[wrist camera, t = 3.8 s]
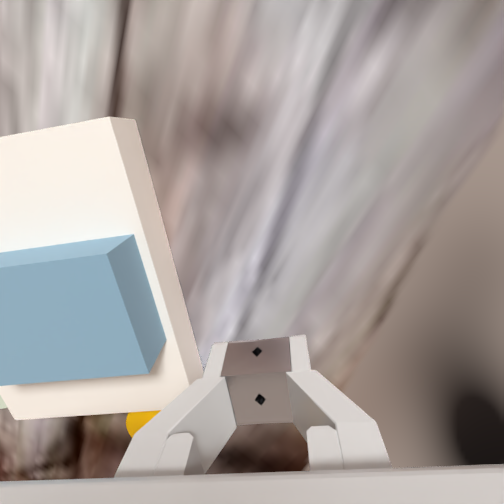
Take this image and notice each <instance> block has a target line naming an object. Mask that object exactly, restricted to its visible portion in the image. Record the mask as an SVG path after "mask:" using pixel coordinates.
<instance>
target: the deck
mask: <svg viewBox="0 0 504 504" xmlns="http://www.w3.org/2000/svg"><path fill="white" fill-rule="evenodd" d="M130 234H134V236H135V239H136V243H137V246H138V249H139V252H140V255H141V259H142V262H143V265H144V268H145V271H146V275H147V278H148V281H149V284H150V288H151V291H152V294H153V297H154V300H155V304H156V307H157V310H158V313H159V316H160V320H161V323H162V326H163V329H164V333H165V336H166V339H167V340H166V342H165V344H164V345H163V347H162V349H161V351H160V353H159V355H158V357H157V359H156V361H155V363H154V365H153V367H152V369H151V371H150V373H149V374H139V375H127V376H115V377H103V378H91V379H79V380H67V381H55V382H42V383H30V384H18V385H6V386H0V395H1V397H2V399H3V401H4V402H5V404H6V406H7V407H8V409H9V411H10V412H11V414H12V416H13V417H14V419H15V420H23V419H38V418H53V417H68V416H82V415H97V414H112V413H127V412H142V411H156V410H162V409H164V408H165V407H166V406H167V405H168V404H169V403H170V402H172V401H173V400H174V399H175V398H176V397H177V396H178V395H180V394H181V393H182V392H183V391H184V390H185V389H186V388H187V387H189V386H190V385H191V384H192V383H193V382H194V381H195V380H197V379H201V378H202V376H203V373H204V371H203V368H202V364H201V360H200V356H199V353H198V349H197V345H196V342H195V338H194V334H193V331H192V327H191V323H190V320H189V316H188V312H187V309H186V305H185V301H184V297H183V294H182V290H181V286H180V283H179V279H178V275H177V272H176V268H175V264H174V261H173V257H172V253H171V250H170V246H169V242H168V239H167V235H166V231H165V227H164V224H163V220H162V216H161V213H160V209H159V205H158V202H157V198H156V194H155V191H154V187H153V183H152V180H151V176H150V172H149V169H148V165H147V161H146V157H145V154H144V150H143V146H142V143H141V139H140V135H139V132H138V128H137V124H136V121H135V119H127V118H117V117H105V118H99V119H94V120H89V121H84V122H78V123H73V124H68V125H62V126H57V127H52V128H46V129H41V130H36V131H30V132H25V133H20V134H14V135H9V136H4V137H0V253H1V252H8V251H15V250H22V249H29V248H37V247H44V246H51V245H58V244H65V243H73V242H80V241H87V240H94V239H101V238H109V237H116V236H123V235H130Z"/></svg>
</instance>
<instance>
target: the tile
mask: <svg viewBox="0 0 504 504" xmlns="http://www.w3.org/2000/svg"><path fill="white" fill-rule="evenodd" d="M166 340H167V339H166V336H165V333H164V329H163V326H162V323H161V320H160V316H159V313H158V310H157V307H156V304H155V300H154V297H153V294H152V291H151V288H150V284H149V281H148V278H147V275H146V271H145V268H144V265H143V262H142V259H141V255H140V252H139V249H138V246H137V243H136V239H135V236H134V234H130V235H123V236H116V237H109V238H101V239H94V240H87V241H80V242H73V243H65V244H58V245H51V246H44V247H37V248H29V249H22V250H15V251H8V252H1V253H0V386H6V385H18V384H30V383H42V382H55V381H67V380H79V379H91V378H103V377H115V376H127V375H139V374H149V373H150V371H151V369H152V367H153V365H154V363H155V361H156V359H157V357H158V355H159V353H160V351H161V349H162V347H163V345H164V344H165V342H166Z"/></svg>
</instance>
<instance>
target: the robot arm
mask: <svg viewBox="0 0 504 504" xmlns="http://www.w3.org/2000/svg"><path fill="white" fill-rule="evenodd" d="M262 423H294V425H295V426H296V428H297V429H298V431H299V432H300V433H301V435H302V436H303V438H304V439H305V441H306V442H307V443H308V454H309V465H310V471H290V472H262V473H233V474H205V473H206V472H207V470H208V469H209V468H210V466H211V465H212V463H213V462H214V460H215V459H216V457H217V456H218V454H219V453H220V451H221V450H222V448H223V447H224V446H225V444H226V443H227V441H228V440H229V438H230V437H231V435H232V434H233V432H234V431H235V429H236V428H237V426H238V425H250V424H262ZM0 504H504V464H495V465H494V464H493V465H465V466H440V467H439V466H437V467H411V468H392V465H391V462H390V460H389V457H388V454H387V451H386V449H385V445H384V443H383V440H382V437H381V435H380V432H379V429H378V426H377V423H376V421H374V420H373V419H372V418H371V417H370V416H369V415H368V414H366V413H365V412H364V411H363V410H362V409H361V408H359V407H358V406H357V405H356V404H355V403H354V402H352V401H351V400H350V399H349V398H348V397H347V396H345V395H344V394H343V393H342V392H341V391H340V390H339V389H337V388H336V387H335V386H334V385H333V384H332V383H331V382H329V381H328V380H327V379H326V378H325V377H324V376H322V375H321V374H320V373H319V372H318V371H317V370H311V366H310V360H309V353H308V347H307V341H306V336H305V334H304V335H296V336H290V337H282V338H272V339H261V340H259V339H258V340H243V341H229V342H217V343H214V344H213V345H212V347H211V350H210V354H209V357H208V360H207V363H206V367H205V370H204V373H203V376H202V378H201V379H197V380H195V381H194V382H193V383H192V384H191V385H190V386H189V387H187V388H186V389H185V390H184V391H183V392H182V393H181V394H180V395H178V396H177V397H176V398H175V399H174V400H173V401H172V402H170V403H169V404H168V405H167V406H166V407H165V408H164V409H162V410H161V411H160V412H159V413H158V414H157V415H156V416H154V417H153V418H152V419H151V420H150V421H149V422H148V423H146V424H145V425H144V426H143V427H142V428H141V429H140V430H138V431H137V432H136V433H135V434H134V436H133V438H132V440H131V442H130V444H129V446H128V448H127V451H126V453H125V455H124V457H123V459H122V461H121V463H120V465H119V467H118V469H117V471H116V473H115V476H114V478H90V479H62V480H33V481H4V482H0Z"/></svg>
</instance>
